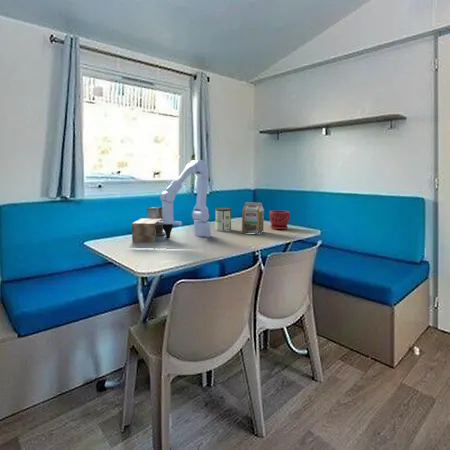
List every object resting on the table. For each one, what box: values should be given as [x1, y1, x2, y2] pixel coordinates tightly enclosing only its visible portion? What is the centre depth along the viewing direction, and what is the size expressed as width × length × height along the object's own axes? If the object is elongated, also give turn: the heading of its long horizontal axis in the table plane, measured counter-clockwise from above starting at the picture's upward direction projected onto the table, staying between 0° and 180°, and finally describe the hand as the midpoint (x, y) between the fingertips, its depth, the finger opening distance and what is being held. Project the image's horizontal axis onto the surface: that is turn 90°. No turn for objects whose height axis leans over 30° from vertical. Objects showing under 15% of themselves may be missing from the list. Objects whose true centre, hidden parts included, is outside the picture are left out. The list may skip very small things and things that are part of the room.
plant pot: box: [269, 210, 291, 230], centre depth 227 cm, size 13×13×12 cm
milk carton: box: [241, 201, 265, 235], centre depth 211 cm, size 11×11×19 cm
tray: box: [156, 233, 168, 242], centre depth 187 cm, size 12×9×3 cm
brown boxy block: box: [131, 217, 164, 244], centre depth 187 cm, size 12×18×11 cm, turn 177°
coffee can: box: [215, 207, 232, 232], centre depth 221 cm, size 10×10×14 cm
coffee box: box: [146, 206, 163, 219], centre depth 205 cm, size 9×6×16 cm
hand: (168, 238), depth 187 cm, fingers closed
